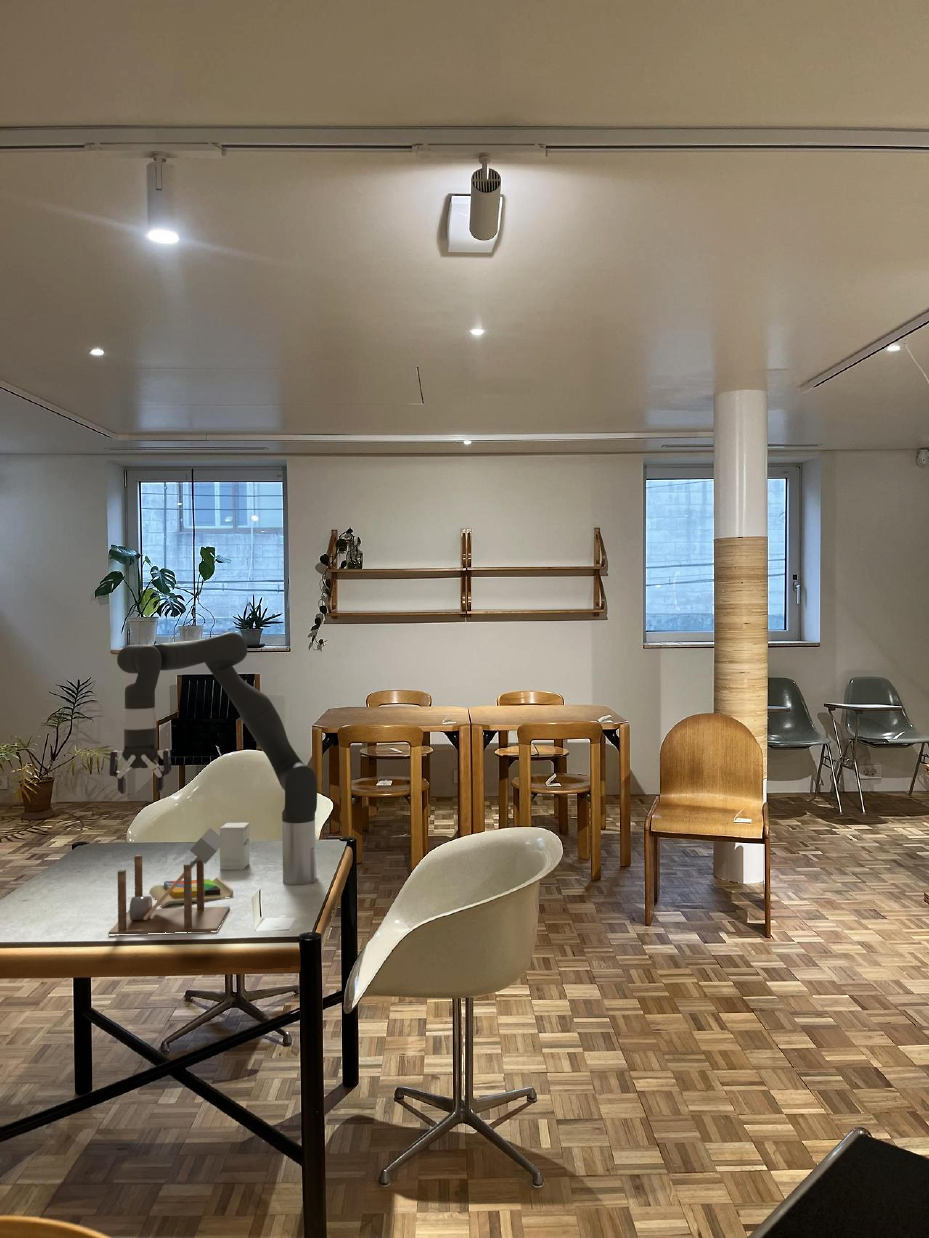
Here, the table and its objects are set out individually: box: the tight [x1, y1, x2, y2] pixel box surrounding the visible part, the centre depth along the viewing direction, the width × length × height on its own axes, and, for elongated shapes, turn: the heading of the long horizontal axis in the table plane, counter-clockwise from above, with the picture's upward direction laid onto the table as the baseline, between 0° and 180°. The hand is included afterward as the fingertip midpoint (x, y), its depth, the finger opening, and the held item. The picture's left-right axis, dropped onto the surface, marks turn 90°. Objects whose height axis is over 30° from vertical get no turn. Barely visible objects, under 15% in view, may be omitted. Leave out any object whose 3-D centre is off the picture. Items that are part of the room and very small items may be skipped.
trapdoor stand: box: [108, 854, 231, 935], centre depth 226 cm, size 25×17×16 cm
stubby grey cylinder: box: [128, 895, 153, 921], centre depth 226 cm, size 6×6×4 cm
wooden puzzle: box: [149, 877, 234, 908], centre depth 250 cm, size 18×19×4 cm
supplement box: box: [219, 822, 250, 871], centre depth 278 cm, size 7×7×13 cm
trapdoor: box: [143, 827, 225, 920], centre depth 226 cm, size 23×12×5 cm
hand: (140, 792), depth 226 cm, fingers open, 8 cm apart
